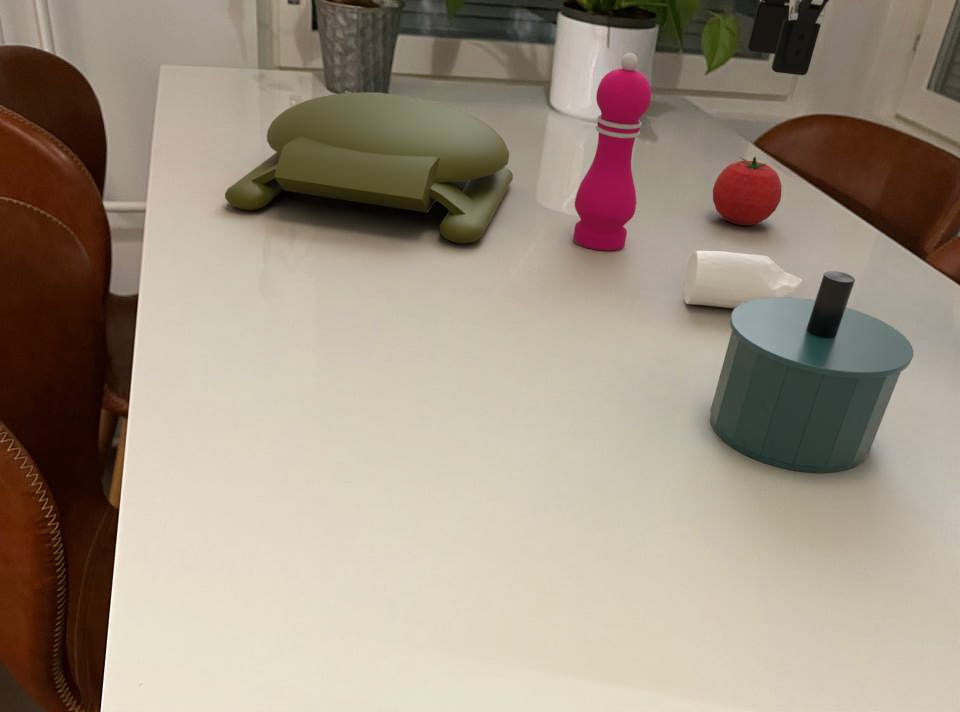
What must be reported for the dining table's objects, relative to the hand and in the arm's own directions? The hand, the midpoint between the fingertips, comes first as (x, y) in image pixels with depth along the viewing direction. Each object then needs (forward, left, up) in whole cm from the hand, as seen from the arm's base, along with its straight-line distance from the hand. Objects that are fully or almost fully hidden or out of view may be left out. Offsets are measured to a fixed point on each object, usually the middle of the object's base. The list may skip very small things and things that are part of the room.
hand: (775, 62), depth 92 cm
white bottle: (-3, +1, -23) cm, 23 cm away
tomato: (-9, -30, -23) cm, 39 cm away
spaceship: (+38, -28, -23) cm, 53 cm away
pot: (-2, +29, -23) cm, 37 cm away
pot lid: (-2, +29, -15) cm, 32 cm away
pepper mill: (+11, -16, -23) cm, 31 cm away
